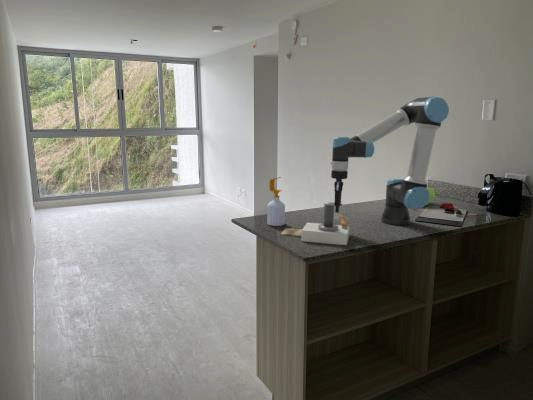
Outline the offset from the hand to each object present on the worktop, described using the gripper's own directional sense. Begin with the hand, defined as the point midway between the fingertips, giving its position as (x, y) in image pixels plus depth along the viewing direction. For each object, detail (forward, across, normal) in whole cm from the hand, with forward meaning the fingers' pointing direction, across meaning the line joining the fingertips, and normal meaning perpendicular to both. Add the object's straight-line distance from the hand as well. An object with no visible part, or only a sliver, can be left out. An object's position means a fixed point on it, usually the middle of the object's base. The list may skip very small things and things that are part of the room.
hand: (336, 218), depth 197 cm
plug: (+7, +13, -2) cm, 15 cm away
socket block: (+7, +12, -4) cm, 15 cm away
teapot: (+5, -82, +44) cm, 93 cm away
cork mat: (+7, +7, -20) cm, 22 cm away
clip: (0, +4, +3) cm, 5 cm away
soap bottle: (+7, -6, -31) cm, 33 cm away
